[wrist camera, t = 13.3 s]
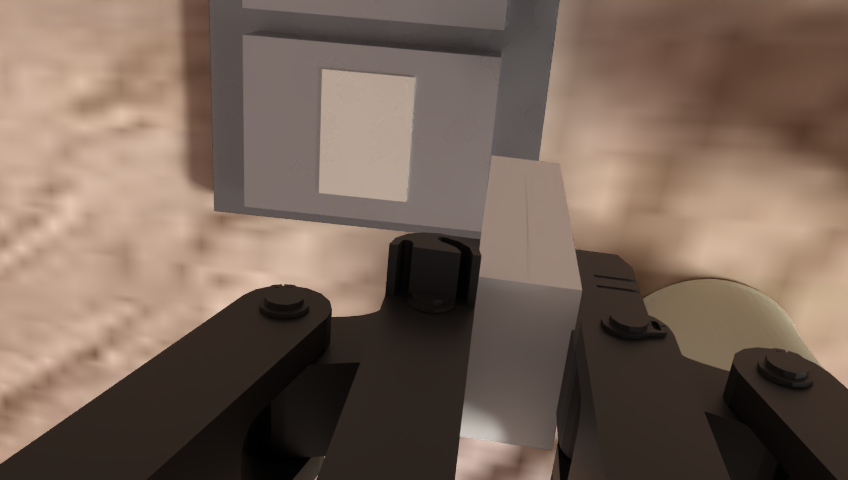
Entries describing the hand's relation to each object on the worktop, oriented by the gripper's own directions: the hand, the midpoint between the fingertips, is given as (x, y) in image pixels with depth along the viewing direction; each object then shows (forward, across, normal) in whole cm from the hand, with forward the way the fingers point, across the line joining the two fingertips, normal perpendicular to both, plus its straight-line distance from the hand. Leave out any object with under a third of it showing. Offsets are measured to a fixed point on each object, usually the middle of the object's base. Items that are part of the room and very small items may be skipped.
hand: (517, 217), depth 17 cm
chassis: (+17, -6, +4) cm, 18 cm away
